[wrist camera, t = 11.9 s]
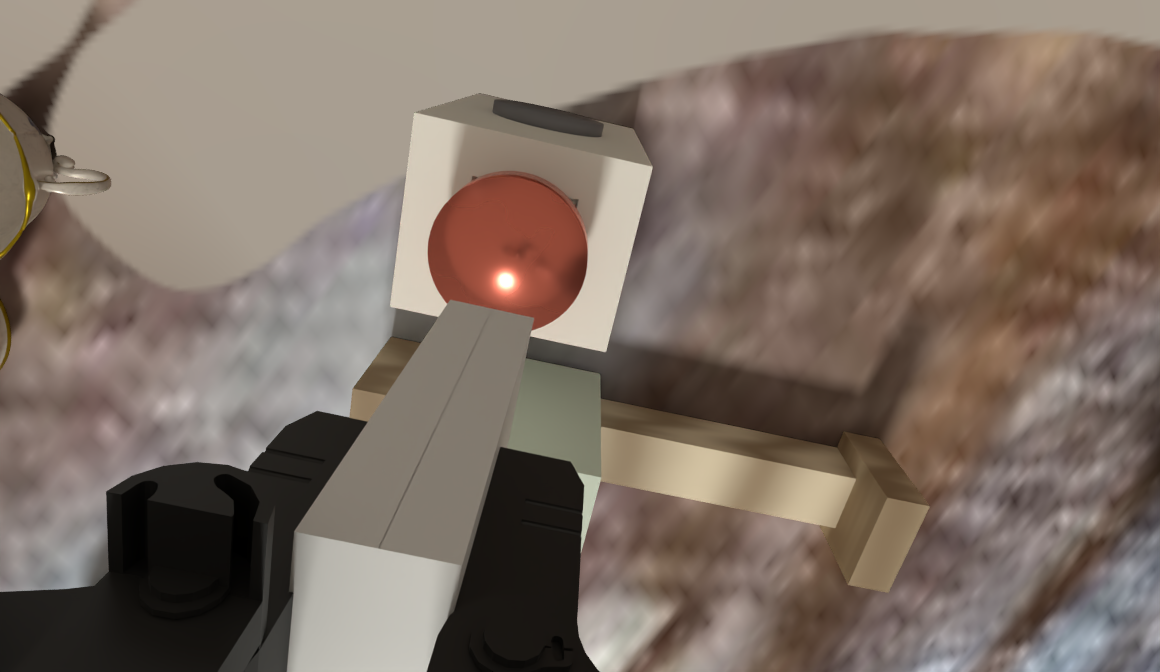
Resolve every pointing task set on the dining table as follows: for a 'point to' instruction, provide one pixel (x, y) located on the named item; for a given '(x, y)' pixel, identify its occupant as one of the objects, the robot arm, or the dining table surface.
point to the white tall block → (543, 148)
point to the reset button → (510, 247)
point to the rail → (742, 473)
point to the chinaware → (30, 184)
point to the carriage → (561, 422)
